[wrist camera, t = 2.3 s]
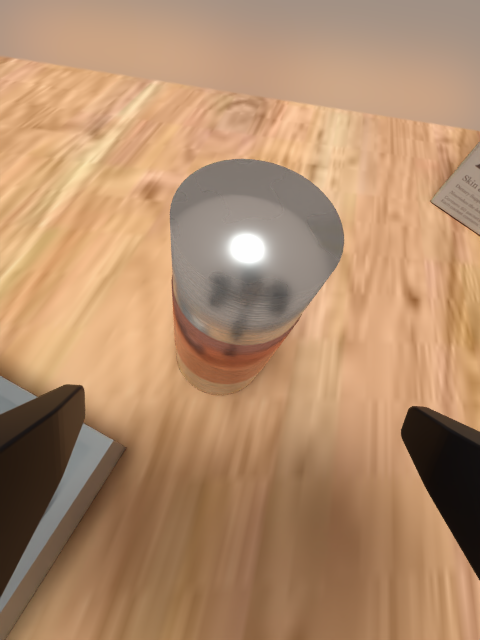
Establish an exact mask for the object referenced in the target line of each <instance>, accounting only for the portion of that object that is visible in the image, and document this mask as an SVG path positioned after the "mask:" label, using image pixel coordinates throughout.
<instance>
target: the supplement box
mask: <svg viewBox="0 0 480 640" xmlns="http://www.w3.org/2000/svg"><path fill="white" fill-rule="evenodd" d="M431 202H432V203H433V204H435V205H437V206H438V207H440V208H441V209H442V210H444V211H445V212H447V213H448V214H450V215H451V216H453V217H454V218H455V219H457V220H458V221H460V222H461V223H463V224H464V225H466V226H467V227H469V228H470V229H472V230H473V231H474V232H476V233H477V234H479V235H480V142H479V143H478V144H477V145H476V146H475V148H474V149H473V150H472V151H471V152H470V154H469V155H468V156H467V157H466V158H465V159H464V161H463V162H462V163H461V164H460V165H459V167H458V168H457V169H456V170H455V171H454V173H453V174H452V175H451V176H450V177H449V178H448V180H447V181H446V182H445V183H444V184H443V186H442V187H441V188H440V189H439V191H438V192H437V193H436V194H435V196H434V197H433V198H432V200H431Z"/></svg>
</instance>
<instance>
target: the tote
mask: <svg viewBox="0 0 480 640" xmlns="http://www.w3.org/2000/svg"><path fill="white" fill-rule="evenodd" d="M35 398H37V396H35V395H34V394H32V393H30V392H28V391H27V390H25V389H23V388H21V387H20V386H18V385H16V384H14V383H13V382H11V381H9V380H7V379H6V378H4V377H2V376H0V414H2V413H4V412H6V411H9V410H11V409H13V408H15V407H17V406H20V405H22V404H24V403H26V402H28V401H30V400H33V399H35ZM125 449H126V447H125V446H123V445H121V444H120V443H118V442H116V441H114V440H113V439H111V438H109V437H107V436H106V435H104V434H102V433H100V432H99V431H97V430H95V429H93V428H92V427H90V426H88V425H86V424H85V423H83V425H82V428H81V430H80V433H79V436H78V438H77V441H76V443H75V446H74V449H73V451H72V454H71V457H70V459H69V462H68V464H67V467H66V470H65V472H64V475H63V477H62V479H61V481H60V483H59V485H58V488H57V490H56V491H55V493H54V495H53V497H52V499H51V501H50V503H49V505H48V507H47V509H46V511H45V513H44V515H43V517H42V519H41V521H40V522H39V524H38V526H37V528H36V530H35V532H34V534H33V536H32V538H31V540H30V542H29V544H28V546H27V548H26V550H25V552H24V553H23V555H22V557H21V559H20V561H19V563H18V565H17V567H16V569H15V571H14V573H13V575H12V577H11V579H10V581H9V583H8V585H7V586H6V588H5V590H4V592H3V594H2V596H1V598H0V640H5V639H6V638H7V636H8V634H9V633H10V631H11V630H12V628H13V627H14V625H15V623H16V622H17V620H18V619H19V617H20V615H21V614H22V612H23V611H24V609H25V607H26V606H27V604H28V603H29V601H30V600H31V598H32V596H33V595H34V593H35V592H36V590H37V588H38V587H39V585H40V584H41V582H42V581H43V579H44V577H45V576H46V574H47V573H48V571H49V569H50V568H51V566H52V565H53V563H54V561H55V560H56V558H57V557H58V555H59V554H60V552H61V550H62V549H63V547H64V546H65V544H66V542H67V541H68V539H69V538H70V536H71V535H72V533H73V531H74V530H75V528H76V527H77V525H78V523H79V522H80V520H81V519H82V517H83V515H84V514H85V512H86V511H87V509H88V508H89V506H90V504H91V503H92V501H93V500H94V498H95V496H96V495H97V493H98V492H99V490H100V489H101V487H102V485H103V484H104V482H105V481H106V479H107V477H108V476H109V474H110V473H111V471H112V469H113V468H114V466H115V465H116V463H117V462H118V460H119V458H120V457H121V455H122V454H123V452H124V450H125Z"/></svg>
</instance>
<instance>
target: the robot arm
mask: <svg viewBox="0 0 480 640" xmlns="http://www.w3.org/2000/svg"><path fill="white" fill-rule="evenodd" d="M84 418H85V393H84V388H83V386H81V385H70V384H66V385H63V386H61V387H59V388H57V389H54V390H52V391H50V392H48V393H46V394H44V395H41V396H39V397H37V398H35V399H33V400H30V401H28V402H26V403H24V404H22V405H20V406H17V407H15V408H13V409H11V410H9V411H6V412H4V413H2V414H0V598H1V596H2V594H3V592H4V590H5V588H6V586H7V585H8V583H9V581H10V579H11V577H12V575H13V573H14V571H15V569H16V567H17V565H18V563H19V561H20V559H21V557H22V555H23V553H24V552H25V550H26V548H27V546H28V544H29V542H30V540H31V538H32V536H33V534H34V532H35V530H36V528H37V526H38V524H39V522H40V521H41V519H42V517H43V515H44V513H45V511H46V509H47V507H48V505H49V503H50V501H51V499H52V497H53V495H54V493H55V491H56V490H57V488H58V485H59V483H60V481H61V479H62V477H63V475H64V472H65V470H66V467H67V464H68V462H69V459H70V457H71V454H72V451H73V449H74V446H75V443H76V441H77V438H78V436H79V433H80V430H81V428H82V425H83V422H84ZM401 436H402V439H403V442H404V444H405V446H406V448H407V450H408V452H409V454H410V456H411V458H412V461H413V463H414V465H415V467H416V469H417V471H418V473H419V475H420V477H421V480H422V482H423V484H424V485H425V487H426V489H427V491H428V493H429V495H430V497H431V498H432V500H433V502H434V503H435V505H436V507H437V508H438V510H439V512H440V514H441V515H442V517H443V519H444V520H445V522H446V524H447V526H448V527H449V529H450V531H451V532H452V534H453V536H454V538H455V539H456V541H457V543H458V544H459V546H460V548H461V549H462V551H463V553H464V555H465V556H466V558H467V560H468V561H469V563H470V565H471V567H472V568H473V570H474V572H475V573H476V575H477V577H478V578H479V580H480V432H479V431H477V430H475V429H473V428H470V427H468V426H466V425H464V424H462V423H460V422H457V421H455V420H453V419H451V418H449V417H447V416H444V415H442V414H440V413H438V412H436V411H434V410H431V409H429V408H427V407H420V406H412V407H410V408H409V409H408V412H407V415H406V417H405V420H404V423H403V426H402V429H401Z"/></svg>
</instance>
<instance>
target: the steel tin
mask: <svg viewBox="0 0 480 640" xmlns="http://www.w3.org/2000/svg"><path fill="white" fill-rule="evenodd" d="M170 230H171V251H172V273H173V274H172V297H173V316H174V334H175V345H176V358H177V363H178V366H179V369H180V371H181V373H182V374H183V376H184V377H185V379H186V380H187V381H188V382H189V383H190V384H191V385H192V386H194V387H195V388H197V389H198V390H201V391H203V392H205V393H209V394H213V395H228V394H232V393H235V392H238V391H240V390H242V389H244V388H245V387H246V386H248V385H249V384H250V383H251V382H252V381H253V380H254V378H255V377H256V376H257V374H258V373H259V372H260V371H261V370H262V369H263V367H264V366H265V365H266V363H267V362H268V361H269V359H270V358H271V357H272V355H273V354H274V353H275V351H276V350H277V349H278V347H279V346H280V345H281V343H282V342H283V341H284V339H285V338H286V337H287V335H288V334H289V333H290V331H291V330H292V328H293V327H294V326H295V324H296V323H297V322H298V320H299V318H300V317H301V315H302V313H303V312H304V310H305V309H306V308H307V306H308V305H309V304H310V302H311V301H312V299H313V298H314V297H315V295H316V294H317V293H318V291H319V290H320V289H321V287H322V286H323V284H324V283H325V282H326V280H327V279H328V278H329V276H330V275H331V274H332V272H333V271H334V270H335V268H336V266H337V265H338V263H339V261H340V258H341V255H342V252H343V247H344V233H343V227H342V223H341V220H340V217H339V215H338V213H337V211H336V209H335V208H334V206H333V205H332V203H331V202H330V200H329V199H328V198H327V197H326V195H325V194H324V193H323V192H322V191H321V190H320V189H319V188H318V187H316V186H315V185H314V184H313V183H311V182H310V181H309V180H307V179H306V178H304V177H303V176H301V175H299V174H298V173H296V172H294V171H292V170H290V169H287V168H285V167H283V166H279V165H276V164H273V163H269V162H265V161H260V160H252V159H232V160H225V161H220V162H216V163H213V164H210V165H207V166H205V167H203V168H201V169H199V170H197V171H195V172H194V173H193V174H191V175H190V176H189V177H188V178H187V179H185V180H184V181H183V183H182V184H181V185H180V186H179V188H178V189H177V191H176V193H175V195H174V197H173V200H172V203H171V208H170Z"/></svg>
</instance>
